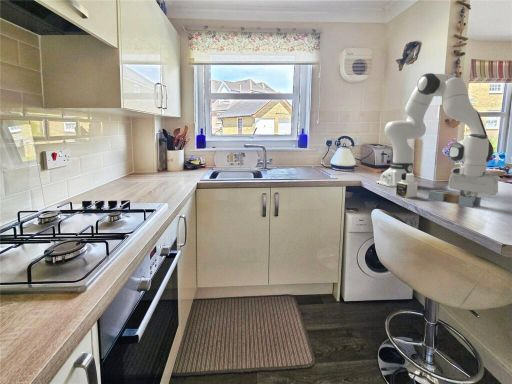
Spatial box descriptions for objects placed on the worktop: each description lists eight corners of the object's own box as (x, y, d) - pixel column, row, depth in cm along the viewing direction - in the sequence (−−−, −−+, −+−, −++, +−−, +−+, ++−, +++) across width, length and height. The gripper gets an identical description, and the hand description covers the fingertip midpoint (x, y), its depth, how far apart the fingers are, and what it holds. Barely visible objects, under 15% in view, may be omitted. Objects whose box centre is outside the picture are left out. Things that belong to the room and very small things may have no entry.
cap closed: (428, 198, 167) (429, 190, 166) (436, 197, 170) (437, 189, 169) (442, 201, 160) (443, 193, 160) (450, 200, 163) (451, 192, 163)
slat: (432, 199, 167) (433, 191, 166) (436, 198, 168) (437, 190, 167) (464, 205, 153) (465, 197, 152) (468, 205, 154) (469, 196, 153)
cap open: (458, 204, 154) (459, 196, 153) (466, 203, 156) (467, 195, 156) (471, 207, 148) (472, 198, 148) (480, 206, 151) (481, 197, 150)
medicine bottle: (395, 195, 175) (397, 172, 173) (406, 194, 178) (408, 172, 175) (405, 198, 169) (407, 174, 166) (416, 197, 171) (418, 173, 169)
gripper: (503, 173, 141) (499, 205, 144) (456, 168, 159) (453, 196, 162) (494, 174, 139) (490, 206, 141) (447, 169, 157) (444, 197, 159)
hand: (470, 201), depth 152 cm, fingers closed
